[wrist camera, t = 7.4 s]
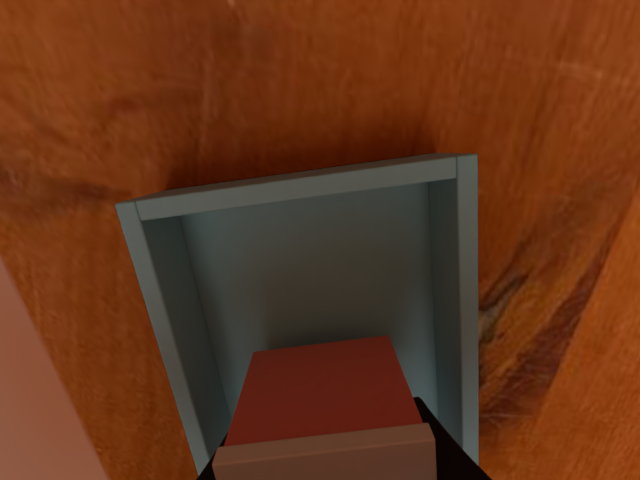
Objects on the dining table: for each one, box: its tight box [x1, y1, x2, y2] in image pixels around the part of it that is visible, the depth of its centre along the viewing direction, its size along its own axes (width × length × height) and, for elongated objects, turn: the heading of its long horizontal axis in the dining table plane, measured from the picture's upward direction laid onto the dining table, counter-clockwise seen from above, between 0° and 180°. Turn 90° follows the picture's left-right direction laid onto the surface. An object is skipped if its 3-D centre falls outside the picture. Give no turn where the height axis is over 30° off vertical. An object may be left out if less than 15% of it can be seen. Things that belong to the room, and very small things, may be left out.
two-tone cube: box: [212, 335, 437, 480], centre depth 10 cm, size 5×5×4 cm
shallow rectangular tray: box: [115, 153, 479, 476], centre depth 13 cm, size 10×17×3 cm, turn 8°
